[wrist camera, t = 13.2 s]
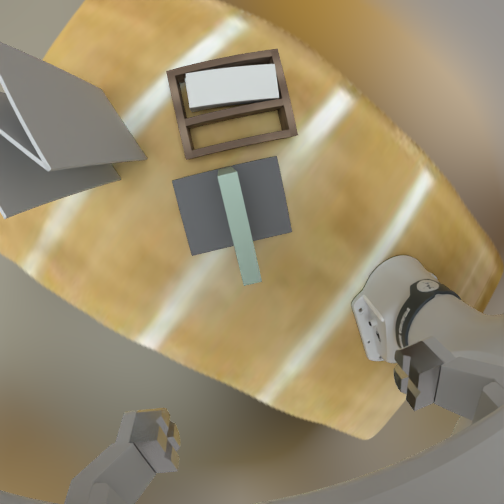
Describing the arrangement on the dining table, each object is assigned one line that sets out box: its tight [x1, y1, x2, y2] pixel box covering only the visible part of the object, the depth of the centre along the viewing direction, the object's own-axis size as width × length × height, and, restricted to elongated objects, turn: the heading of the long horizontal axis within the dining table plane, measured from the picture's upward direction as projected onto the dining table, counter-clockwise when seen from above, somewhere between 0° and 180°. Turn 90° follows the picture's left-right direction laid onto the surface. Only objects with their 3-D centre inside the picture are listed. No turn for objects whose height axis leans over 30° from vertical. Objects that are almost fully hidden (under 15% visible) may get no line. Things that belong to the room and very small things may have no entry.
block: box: [217, 167, 262, 286], centre depth 41 cm, size 2×12×16 cm, turn 12°
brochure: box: [0, 42, 147, 219], centre depth 30 cm, size 14×6×30 cm, turn 33°
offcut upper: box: [186, 64, 279, 111], centre depth 40 cm, size 5×12×3 cm, turn 97°
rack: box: [166, 49, 298, 160], centre depth 42 cm, size 13×16×5 cm
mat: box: [172, 156, 292, 256], centre depth 49 cm, size 12×16×1 cm
